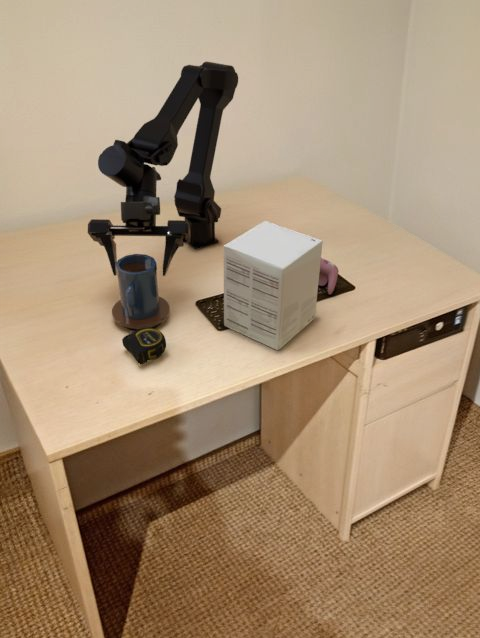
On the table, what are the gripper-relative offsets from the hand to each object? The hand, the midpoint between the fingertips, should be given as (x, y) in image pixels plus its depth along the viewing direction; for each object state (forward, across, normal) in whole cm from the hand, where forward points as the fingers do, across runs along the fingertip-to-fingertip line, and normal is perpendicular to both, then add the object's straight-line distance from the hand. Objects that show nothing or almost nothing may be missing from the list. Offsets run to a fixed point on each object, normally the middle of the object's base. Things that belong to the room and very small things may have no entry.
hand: (139, 275), depth 115 cm
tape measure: (+16, +2, -4) cm, 16 cm away
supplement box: (+8, +25, +4) cm, 26 cm away
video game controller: (-1, +35, +14) cm, 37 cm away
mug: (+7, 0, +4) cm, 8 cm away
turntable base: (+7, 0, +5) cm, 9 cm away
